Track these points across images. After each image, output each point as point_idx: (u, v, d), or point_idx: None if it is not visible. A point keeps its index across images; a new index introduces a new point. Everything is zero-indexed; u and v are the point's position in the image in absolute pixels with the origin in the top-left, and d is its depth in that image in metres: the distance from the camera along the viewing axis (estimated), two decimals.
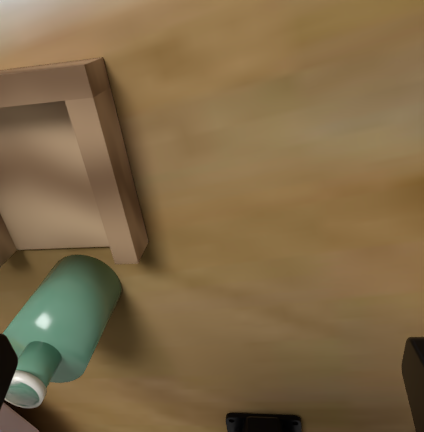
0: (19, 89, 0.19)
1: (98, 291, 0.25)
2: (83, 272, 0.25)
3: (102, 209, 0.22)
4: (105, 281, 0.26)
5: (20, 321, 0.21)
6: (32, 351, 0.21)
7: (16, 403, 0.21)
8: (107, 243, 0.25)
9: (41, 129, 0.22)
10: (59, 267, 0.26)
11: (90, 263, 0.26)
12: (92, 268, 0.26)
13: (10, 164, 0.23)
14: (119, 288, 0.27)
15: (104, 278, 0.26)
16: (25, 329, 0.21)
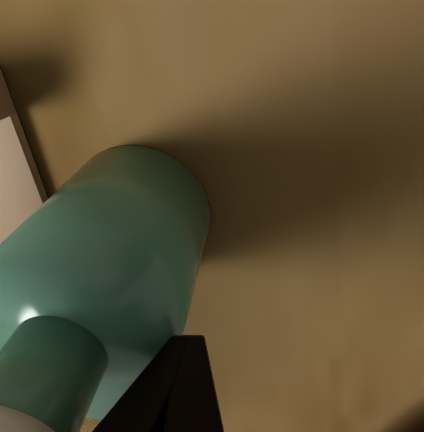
0: None
1: (59, 188, 0.11)
2: None
3: None
4: (77, 171, 0.12)
5: None
6: None
7: None
8: (16, 151, 0.13)
9: None
10: None
11: None
12: None
13: None
14: (129, 148, 0.12)
15: (77, 172, 0.12)
16: None
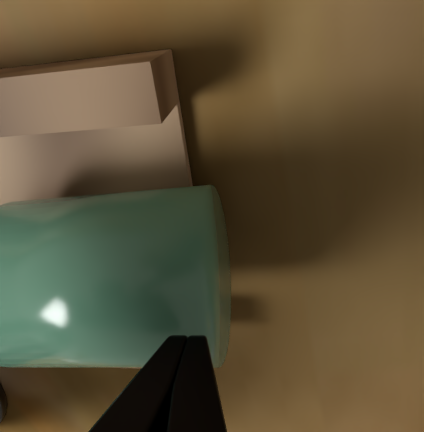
0: None
1: None
2: None
3: (21, 126, 0.10)
4: (164, 189, 0.11)
5: None
6: None
7: None
8: (175, 143, 0.12)
9: None
10: None
11: None
12: None
13: None
14: (188, 208, 0.09)
15: (172, 188, 0.11)
16: None
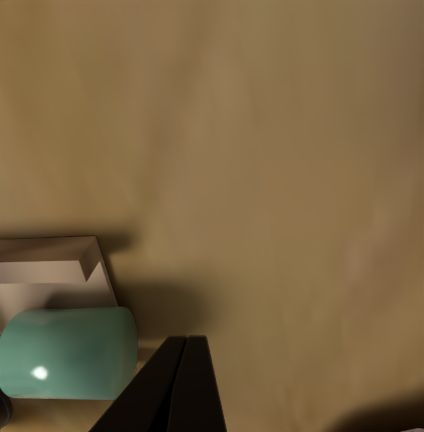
0: None
1: (75, 314, 0.22)
2: None
3: (21, 280, 0.21)
4: (91, 314, 0.22)
5: None
6: None
7: None
8: (101, 276, 0.23)
9: None
10: None
11: (113, 307, 0.23)
12: (105, 307, 0.23)
13: None
14: (98, 336, 0.21)
15: (95, 313, 0.22)
16: None
